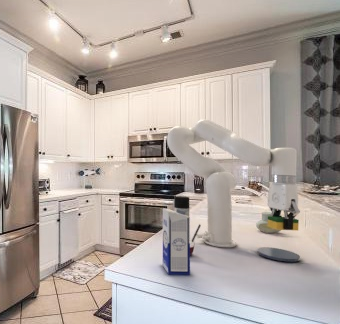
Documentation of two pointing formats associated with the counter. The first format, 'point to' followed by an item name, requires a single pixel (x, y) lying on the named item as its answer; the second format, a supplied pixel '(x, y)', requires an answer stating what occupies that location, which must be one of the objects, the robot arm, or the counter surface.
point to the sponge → (280, 223)
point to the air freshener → (265, 224)
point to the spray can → (182, 204)
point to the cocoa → (193, 241)
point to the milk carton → (176, 242)
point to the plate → (278, 254)
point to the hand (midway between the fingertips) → (282, 226)
